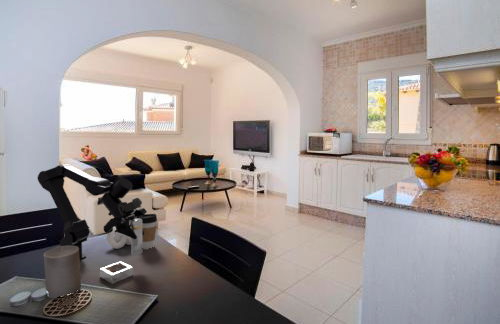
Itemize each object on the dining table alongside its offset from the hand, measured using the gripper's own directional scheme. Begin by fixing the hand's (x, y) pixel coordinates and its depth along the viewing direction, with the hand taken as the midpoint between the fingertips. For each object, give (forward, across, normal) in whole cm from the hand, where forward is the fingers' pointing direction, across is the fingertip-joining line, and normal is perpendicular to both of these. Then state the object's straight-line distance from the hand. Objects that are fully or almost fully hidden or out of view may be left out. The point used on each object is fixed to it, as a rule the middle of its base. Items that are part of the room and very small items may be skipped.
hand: (139, 236), depth 111 cm
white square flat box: (+6, -7, +12) cm, 16 cm away
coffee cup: (+2, +20, +17) cm, 26 cm away
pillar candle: (0, -21, +19) cm, 28 cm away
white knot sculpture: (-7, +17, +26) cm, 32 cm away
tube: (+4, 0, +6) cm, 7 cm away
